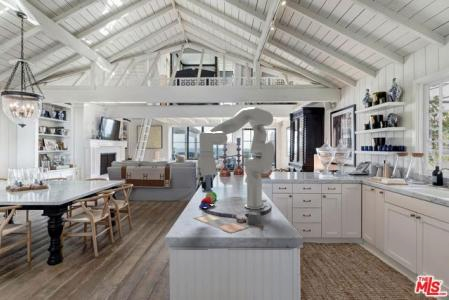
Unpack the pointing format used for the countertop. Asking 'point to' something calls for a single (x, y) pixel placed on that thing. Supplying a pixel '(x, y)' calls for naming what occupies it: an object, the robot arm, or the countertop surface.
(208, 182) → the pawn
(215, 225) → the board
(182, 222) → the countertop surface
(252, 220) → the die
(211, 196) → the toy
